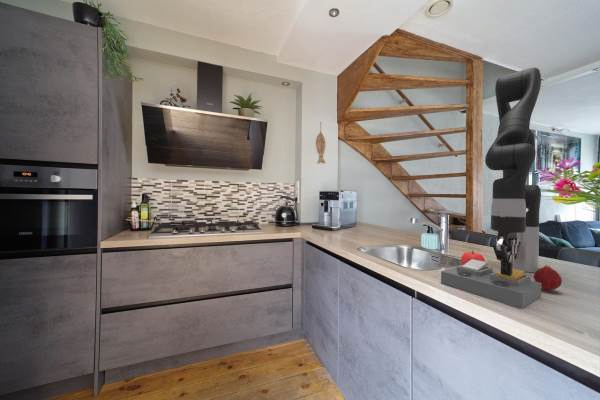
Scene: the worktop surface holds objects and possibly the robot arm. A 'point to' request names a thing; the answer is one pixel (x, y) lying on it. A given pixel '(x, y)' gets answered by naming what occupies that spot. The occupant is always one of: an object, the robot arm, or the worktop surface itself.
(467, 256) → the apple
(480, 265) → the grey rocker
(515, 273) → the amber rocker
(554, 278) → the red rounded lump
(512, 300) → the grey flat block
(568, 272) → the worktop surface
